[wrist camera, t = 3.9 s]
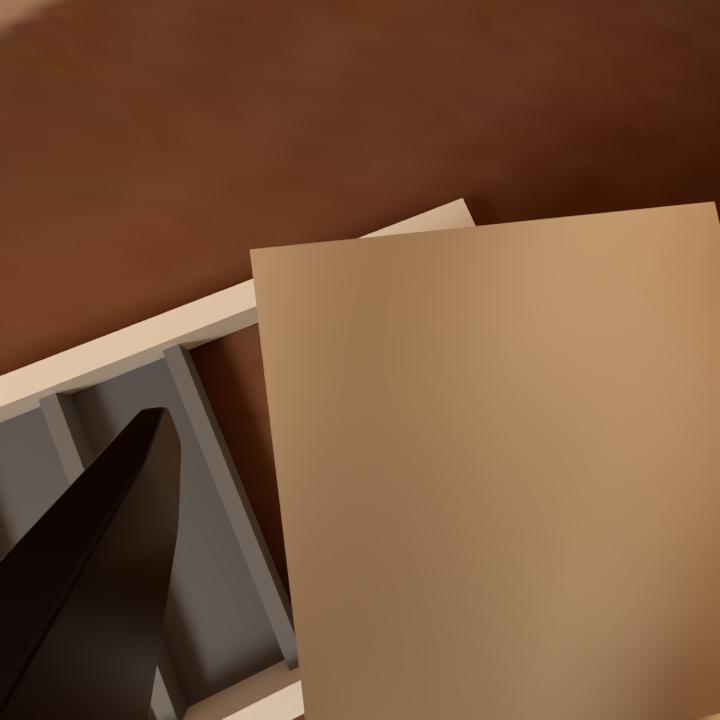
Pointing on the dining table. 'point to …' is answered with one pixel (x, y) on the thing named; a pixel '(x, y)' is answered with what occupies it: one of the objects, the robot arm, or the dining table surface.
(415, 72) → the dining table surface
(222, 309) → the box
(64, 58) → the dining table surface
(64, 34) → the dining table surface
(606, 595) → the maple block
